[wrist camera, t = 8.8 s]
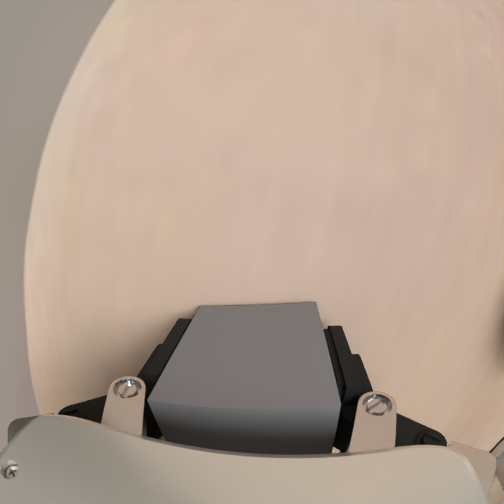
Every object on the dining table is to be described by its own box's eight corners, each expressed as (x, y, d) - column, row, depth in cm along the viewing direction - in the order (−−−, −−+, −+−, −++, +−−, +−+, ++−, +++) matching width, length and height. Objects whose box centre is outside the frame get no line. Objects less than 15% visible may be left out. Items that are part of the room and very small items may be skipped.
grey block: (315, 302, 12) (340, 404, 6) (306, 464, 15) (307, 535, 9) (199, 306, 12) (147, 399, 6) (234, 464, 16) (221, 533, 10)
